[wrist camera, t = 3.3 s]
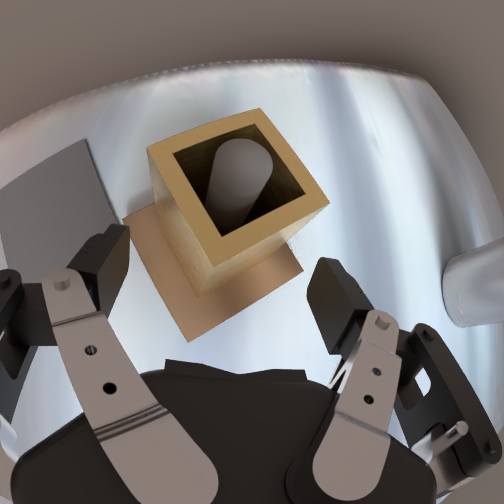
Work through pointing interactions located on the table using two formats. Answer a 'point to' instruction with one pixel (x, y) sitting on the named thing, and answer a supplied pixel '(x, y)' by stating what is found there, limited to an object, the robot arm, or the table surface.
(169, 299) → the peg stand
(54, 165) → the mat
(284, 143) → the sleeve
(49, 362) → the table surface
